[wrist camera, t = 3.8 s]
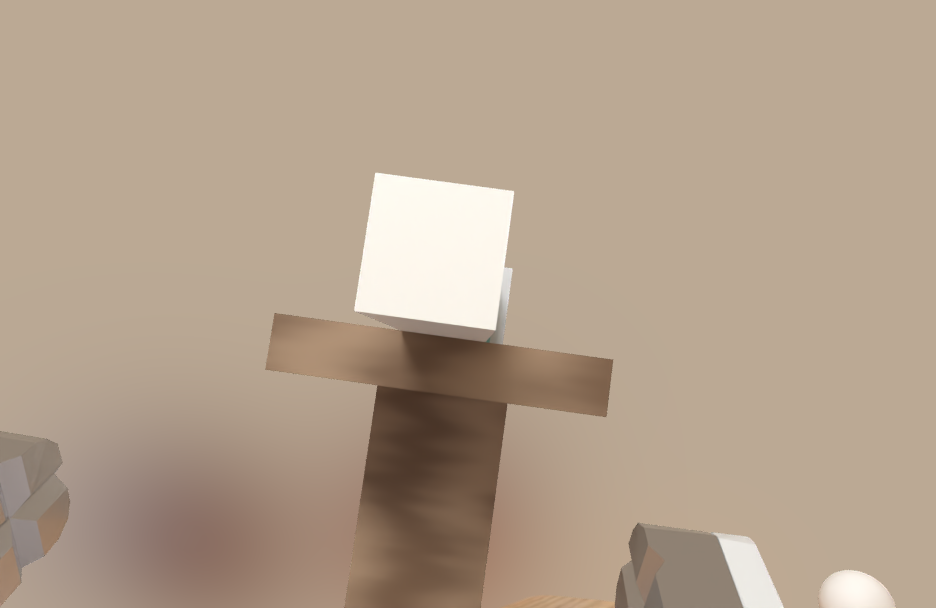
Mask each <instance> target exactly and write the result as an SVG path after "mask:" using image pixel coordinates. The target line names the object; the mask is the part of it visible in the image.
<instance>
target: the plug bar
mask: <svg viewBox="0 0 936 608" xmlns="http://www.w3.org/2000/svg"><path fill="white" fill-rule="evenodd" d="M513 196H514V191H507V190H501V189H493V188H485V187H478V186H471V185H463V184H456V183H448V182H441V181H433V180H426V179H418V178H410V177H404V176H396V175H388V174H381V173H375V179H374V186H373V192H372V199H371V206H370V212H369V218H368V225H367V231H366V238H365V244H364V251H363V257H362V264H361V270H360V277H359V283H358V290H357V296H356V303H355V310H354V311H356V312H358V313H360V314H363V315H365V316H368V317H370V318H372V319H375V320H377V321H379V322H382V323H384V324H387V325H389V326H391V327H394V328H396V329H398V330H401V331H408V332H415V333H422V334H430V335H437V336H444V337H451V338H459V339H466V340H473V341H480V342H488V343H495V344H502V345H503V337H504V330H505V322H506V314H507V307H508V300H509V292H510V285H511V277H512V270H513V269H512V268H504V264H505V257H506V248H507V240H508V234H509V227H510V219H511V212H512V204H513Z"/></svg>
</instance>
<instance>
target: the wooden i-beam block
mask: <svg viewBox="0 0 936 608" xmlns="http://www.w3.org/2000/svg"><path fill="white" fill-rule="evenodd" d="M612 364H613V360H611V359H604V358H597V357H589V356H582V355H574V354H567V353H560V352H553V351H546V350H538V349H531V348H524V347H517V346H509V345H502V344H495V343H488V342H480V341H473V340H466V339H459V338H451V337H444V336H437V335H430V334H422V333H415V332H408V331H401V330H393V329H386V328H379V327H371V326H364V325H356V324H350V323H343V322H335V321H328V320H321V319H314V318H306V317H299V316H292V315H284V314H277V313H275V314H274V320H273V326H272V333H271V339H270V345H269V351H268V357H267V363H266V370H272V371H279V372H287V373H293V374H301V375H307V376H315V377H322V378H329V379H337V380H343V381H351V382H358V383H365V384H372V385H378V386H377V392H376V399H375V406H374V412H373V419H372V426H371V433H370V439H369V446H368V453H367V459H366V466H365V474H364V480H363V487H362V494H361V500H360V507H359V513H358V520H357V527H356V533H355V540H354V547H353V554H352V560H351V567H350V573H349V581H348V587H347V594H346V600H345V607H344V608H481V601H482V593H483V585H484V578H485V570H486V563H487V554H488V547H489V540H490V532H491V524H492V517H493V509H494V501H495V494H496V486H497V479H498V471H499V462H500V455H501V448H502V440H503V433H504V425H505V418H506V410H507V403H509V404H516V405H523V406H530V407H537V408H544V409H552V410H559V411H566V412H574V413H580V414H588V415H595V416H603V417H606V416H607V407H608V399H609V398H608V397H609V390H610V381H611V373H612Z"/></svg>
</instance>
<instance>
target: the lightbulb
mask: <svg viewBox="0 0 936 608" xmlns="http://www.w3.org/2000/svg"><path fill="white" fill-rule="evenodd" d="M818 602H819V608H896V606H895V603H894V600H893V598H892V596H891V595H890V593H889V592H888V590H887V589H886V588H885V586H883V585H882V584H881V583H880V582H879V581H878V580H876V579H875V578H873V577H872V576H870V575H868V574H865V573H863V572H859V571H855V570H843V571H839V572H836V573H833V574H832V575H830V576H829V577H827V578H826V580H825V581H824V582H823V584H822V586H821V587H820V590H819V594H818Z"/></svg>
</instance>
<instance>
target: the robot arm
mask: <svg viewBox="0 0 936 608" xmlns="http://www.w3.org/2000/svg"><path fill="white" fill-rule="evenodd" d="M61 464H62V459H61V455H60V451H59V447H58V444H57V443H55V442H52V441H50V440H48V439H44V438H38V437H32V436H26V435H20V434H14V433H8V432H2V431H0V606H1V605H2V604H3V603H4V602H5V600H6V599H7V598H8V597H9V596H10V595H11V594H12V593H13V592H14V590H15V589H16V588H17V587H18V586H19V585H20V584H21V575H22V573H21V572H22V567H24V566H26V565H28V564H30V563H32V562H34V561H36V560H38V559H40V558H42V557H44V556H45V555H46V554H47V552H48V551H49V550H50V549H51V548H52V546H53V545H54V544H55V543H56V542H57V540H58V539H59V537H60V535H61V533H62V531H63V528H64V526H65V524H66V522H67V519H68V515H69V506H70V499H69V494H68V488H67V487H66V486H65V485H64V484H63V483H62V482H61V481H60V479H59V478H58V477H57V476H56V475H55V472H56V471H57V470H58V468H59V467H60V466H61ZM629 548H630V553H631V558H632V561H630V562H629V563H627V564H626V565H624V566H623V567H622V568H621V572H620V575H619V580H618V583H617V589H616V600H615V608H784V606H783V604H782V602H781V600H780V597H779V595H778V593H777V591H776V589H775V587H774V584H773V582H772V580H771V578H770V576H769V573H768V571H767V569H766V566H765V564H764V562H763V560H762V558H761V556H760V553H759V551H758V549H757V547H756V544H755V543H754V542H753V541H752V540H751V539H750V538H749V537H745V536H738V535H730V534H722V533H714V532H712V533H708V532H702V531H694V530H686V529H680V528H672V527H665V526H657V525H650V524H642V523H638V524H637V525H636V527H635V528H634V530H633V532H632V535H631V538H630V541H629Z"/></svg>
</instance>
